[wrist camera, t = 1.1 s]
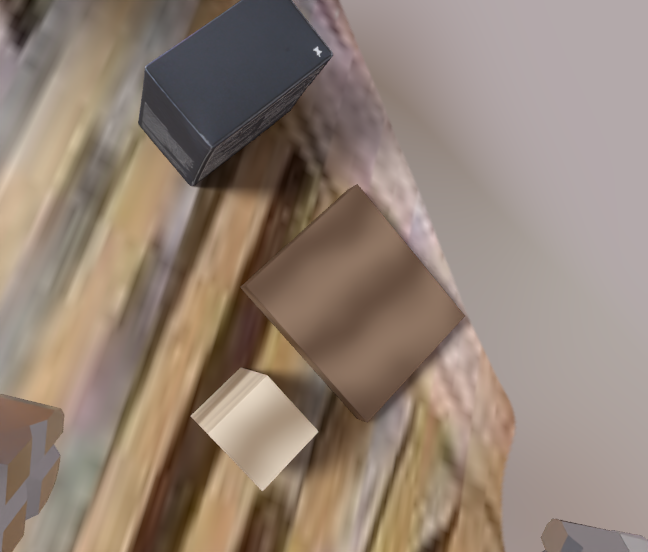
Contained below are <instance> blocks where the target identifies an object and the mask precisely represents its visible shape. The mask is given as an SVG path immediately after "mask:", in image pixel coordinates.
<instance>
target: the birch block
mask: <svg viewBox="0 0 648 552" xmlns="http://www.w3.org/2000/svg"><path fill="white" fill-rule="evenodd" d="M191 417H192V418H193V419H194V420H195V421H196V422H197V423H198V424H199V425H200V426H201V428H202V429H203V430H204V431H205V432H206V433H207V434H208V435H209V436H210V437H211V438H212V439H213V440H214V441H215V442H216V443H217V444H218V445H219V446H220V447H221V449H222V450H223V451H224V452H225V453H226V454H227V455H228V456H229V457H230V458H231V459H232V460H233V461H234V462H235V463H236V464H237V465H238V466H239V467H240V468H241V469H242V470H243V472H244V473H245V474H246V475H247V476H248V477H249V478H250V479H251V480H252V481H253V482H254V483H255V484H256V485H257V486H258V487H259V488H260V489H261V490H262V491H263V490H264V489H265V488H266V487H267V486H268V485H269V484H270V483H271V482H272V481H273V479H274V478H275V477H276V476H277V475H278V474H279V473H280V472H281V471H282V470H283V469H284V468H285V467H286V466H287V465H288V464H289V462H290V461H291V460H292V459H293V458H294V457H295V456H296V455H297V454H298V453H299V452H300V451H301V450H302V449H303V448H304V447H305V446H306V444H307V443H308V442H309V441H310V440H311V439H312V438H313V437H314V436H315V435H316V434H317V433H318V430H317V429H316V428H315V427H314V426H313V425H312V424H311V423H310V422H309V421H308V419H307V418H306V417H305V416H304V415H303V414H302V413H301V412H300V411H299V410H298V408H297V407H296V406H295V405H294V404H293V403H292V402H291V401H290V400H289V399H288V397H287V396H286V395H285V394H284V393H283V392H282V391H281V390H280V389H279V388H278V386H277V385H276V384H275V383H274V382H273V381H272V380H271V379H270V378H269V377H268V376H267V375H265V374H261V373H258V372H254V371H251V370H248V369H244V368H240V369H239V370H238V371H237V372H236V373H235V374H234V375H233V376H232V377H231V378H230V379H229V380H227V381H226V382H225V383H224V384H223V385H222V386H221V387H220V388H219V389H218V390H217V391H216V392H215V393H214V394H213V395H212V396H211V397H210V398H209V399H208V400H207V401H206V402H205V403H204V404H203V405H202V406H200V407H199V408H198V409H197V410H196V411H195V412H194V413H193V414H192V415H191Z"/></svg>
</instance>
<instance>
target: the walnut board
mask: <svg viewBox="0 0 648 552" xmlns="http://www.w3.org/2000/svg"><path fill="white" fill-rule="evenodd" d="M240 288H241V289H242V290H243V291H244V292H245V293H246V294H247V295H248V297H249V298H250V299H251V300H252V301H253V302H254V303H255V304H256V306H257V307H258V308H259V309H260V310H261V311H262V312H263V313H264V315H265V316H266V317H267V318H268V319H269V320H270V321H271V322H272V324H273V325H274V326H275V327H276V328H277V329H278V330H279V331H280V333H281V334H282V335H283V336H284V337H285V338H286V339H287V340H288V341H289V343H290V344H291V345H292V346H293V347H294V348H295V349H296V350H297V352H298V353H299V354H300V355H301V356H302V357H303V358H304V359H305V361H306V362H307V363H308V364H309V365H310V366H311V367H312V368H313V370H314V371H315V372H316V373H317V374H318V375H319V376H320V377H321V379H322V380H323V381H324V382H325V383H326V384H327V385H328V386H329V388H330V389H331V390H332V391H333V392H334V393H335V394H336V395H337V397H338V398H339V399H340V400H341V401H342V402H343V403H344V404H345V406H346V407H347V408H348V409H349V410H350V411H351V412H352V413H353V415H354V416H355V417H356V418H357V419H359V420H362V421H365V422H368V421H369V420H370V419H371V418H372V417H373V416H374V415H375V414H376V413H377V412H378V410H379V409H380V408H381V407H382V406H383V405H384V404H385V403H386V402H387V401H388V400H389V398H390V397H391V396H392V395H393V394H394V393H395V392H396V391H397V390H398V389H399V388H400V386H401V385H402V384H403V383H404V382H405V381H406V380H407V379H408V378H409V377H410V376H411V374H412V373H413V372H414V371H415V370H416V369H417V368H418V367H419V366H420V365H421V364H422V362H423V361H424V360H425V359H426V358H427V357H428V356H429V355H430V354H431V353H432V352H433V350H434V349H435V348H436V347H437V346H438V345H439V344H440V343H441V342H442V341H443V340H444V338H445V337H446V336H447V335H448V334H449V333H450V332H451V331H452V330H453V329H454V328H455V326H456V325H457V324H458V323H459V322H460V321H461V320H462V319H463V318H464V317H465V315H464V314H463V313H462V312H461V310H460V309H459V308H458V307H457V305H456V304H455V303H454V302H453V301H452V299H451V298H450V297H449V296H448V294H447V293H446V292H445V291H444V290H443V288H442V287H441V286H440V285H439V283H438V282H437V281H436V280H435V279H434V277H433V276H432V275H431V274H430V272H429V271H428V270H427V269H426V268H425V266H424V265H423V264H422V263H421V261H420V260H419V259H418V258H417V257H416V255H415V254H414V253H413V252H412V250H411V249H410V248H409V247H408V246H407V244H406V243H405V242H404V241H403V239H402V238H401V237H400V236H399V234H398V233H397V232H396V231H395V230H394V228H393V227H392V226H391V225H390V223H389V222H388V221H387V220H386V219H385V217H384V216H383V215H382V214H381V212H380V211H379V210H378V209H377V208H376V206H375V205H374V204H373V203H372V201H371V200H370V199H369V198H368V197H367V195H366V194H365V193H364V192H363V190H362V189H361V188H360V187H359V186H358V184H357V185H355V186H353V187H352V188H350V189H348V190H347V191H346V192H345V193H344V194H343V195H341V196H340V197H339V198H338V199H337V200H336V201H335V202H334V203H333V204H331V205H330V206H329V207H328V208H327V209H326V210H325V211H324V212H323V213H322V214H320V215H319V216H318V217H317V218H316V219H315V220H314V221H313V222H312V223H311V224H309V225H308V226H307V227H306V228H305V229H304V230H303V231H302V232H301V233H300V234H298V235H297V236H296V237H295V238H294V239H293V240H292V241H291V242H290V243H289V244H287V245H286V246H285V247H284V248H283V249H282V250H281V251H280V252H279V253H277V254H276V255H275V256H274V257H273V258H272V259H271V260H270V261H269V262H268V263H266V264H265V265H264V266H263V267H262V268H261V269H260V270H259V271H258V272H257V273H255V274H254V275H253V276H252V277H251V278H250V279H249V280H248V281H247V282H246V283H244V284H243V285H242V286H241V287H240Z"/></svg>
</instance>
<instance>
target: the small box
mask: <svg viewBox="0 0 648 552" xmlns="http://www.w3.org/2000/svg"><path fill="white" fill-rule="evenodd" d="M332 56H333V53H332V51H331V50H330V49H329V47H328V46H327V45H326V44H325V42H324V41H323V40H322V39H321V37H320V36H319V35H318V34H317V32H316V31H315V29H314V28H313V27H312V26H311V25H310V23H309V22H308V21H307V19H306V18H305V17H304V16H303V14H302V13H301V12H300V10H299V9H298V8H297V7H296V5H295V4H294V3H293V1H292V0H241V1H239V2H238V3H236V4H235V5H234V6H232V7H231V8H229V9H228V10H226V11H225V12H224V13H222V14H221V15H219V16H218V17H216V18H215V19H213V20H212V21H211V22H209V23H208V24H206V25H205V26H203V27H202V28H200V29H199V30H197V31H196V32H195V33H193V34H192V35H190V36H189V37H187V38H186V39H184V40H183V41H181V42H180V43H178V44H177V45H176V46H174V47H173V48H171V49H170V50H168V51H167V52H165V53H164V54H162V55H161V56H159V57H158V58H156V59H155V60H153V61H152V62H150V63H149V64H148V65H146V66H145V75H144V83H143V92H142V99H141V107H140V114H139V121H138V124H139V125H140V127H141V128H142V129H143V130H144V132H145V133H146V134H147V135H148V137H149V138H150V139H151V140H152V141H153V142H154V144H155V145H156V146H157V147H158V149H159V150H160V151H161V152H162V153H163V155H164V156H165V157H166V158H167V159H168V160H169V162H170V163H171V164H172V165H173V166H174V167H175V168H176V170H177V171H178V172H179V173H180V175H181V176H182V177H183V178H184V179H185V180H186V182H187V183H188V184H189V185H190V186H194V185H196V184H197V183H198V182H199V181H201V180H202V179H203V178H205V177H206V176H207V175H209V174H210V173H211V172H212V171H214V170H215V169H216V168H218V167H219V166H220V165H221V164H223V163H224V162H225V161H227V160H228V159H229V158H230V157H232V156H233V155H234V154H236V153H237V152H238V151H239V150H241V149H242V148H243V147H245V146H246V145H247V144H248V143H250V142H251V141H253V140H254V139H255V138H257V137H258V136H259V135H260V134H261V133H263V132H264V131H265V130H266V129H268V128H269V127H270V126H272V125H273V124H274V123H275V122H276V121H278V120H279V119H280V118H281V117H283V116H284V115H285V114H286V113H288V112H289V111H291V109H292V107H293V106H294V105H295V103H296V102H297V100H298V99H299V97H300V96H301V95H302V93H303V92H304V91H305V90H306V88H307V87H308V86H309V85H310V84H311V83H312V81H313V80H314V79H315V77H316V76H317V75H318V74H319V72H320V71H321V70H322V69H323V68H324V66H325V65H326V64H327V62H328V61H329V60H330V59H331V57H332Z"/></svg>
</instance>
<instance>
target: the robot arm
mask: <svg viewBox="0 0 648 552" xmlns="http://www.w3.org/2000/svg"><path fill="white" fill-rule="evenodd" d="M63 425H64V413H63V411H62V409H61V408H57V407H53V406H49V405H45V404H41V403H37V402H32V401H28V400H24V399H20V398H16V397H12V396H8V395H4V394H0V552H12V551H13V550H14V548H15V547H16V545H17V544H18V543H19V541H20V540H21V538H22V537H23V535H24V528H25V520H27V519H29V518H31V517H33V516H36V515H38V514H39V512H40V511H41V509H42V508H43V506H44V505H45V503H46V502H47V500H48V498H49V496H50V493H51V491H52V489H53V487H54V484H55V482H56V478H57V474H58V470H59V463H60V454H59V452H58V450H57V449H56V447H55V445H54V443H55V442H56V440H57V439H58V438H59V436H60V435H61V434H62V433H63ZM541 539H542V541H543V545H544V547H545V550H544V551H543V552H648V540H647V539H646V538H644V537H643V536H641V535H635V534H630V533H625V532H620V531H615V530H612V531H610V530H605V529H600V528H596V527H591V526H586V525H582V524H577V523H572V522H567V521H563V520H558V519H552V520H551V521H550V522H549V523H548V524H547V525H546V527H545V530H544V532H543V534H542V536H541Z"/></svg>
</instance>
